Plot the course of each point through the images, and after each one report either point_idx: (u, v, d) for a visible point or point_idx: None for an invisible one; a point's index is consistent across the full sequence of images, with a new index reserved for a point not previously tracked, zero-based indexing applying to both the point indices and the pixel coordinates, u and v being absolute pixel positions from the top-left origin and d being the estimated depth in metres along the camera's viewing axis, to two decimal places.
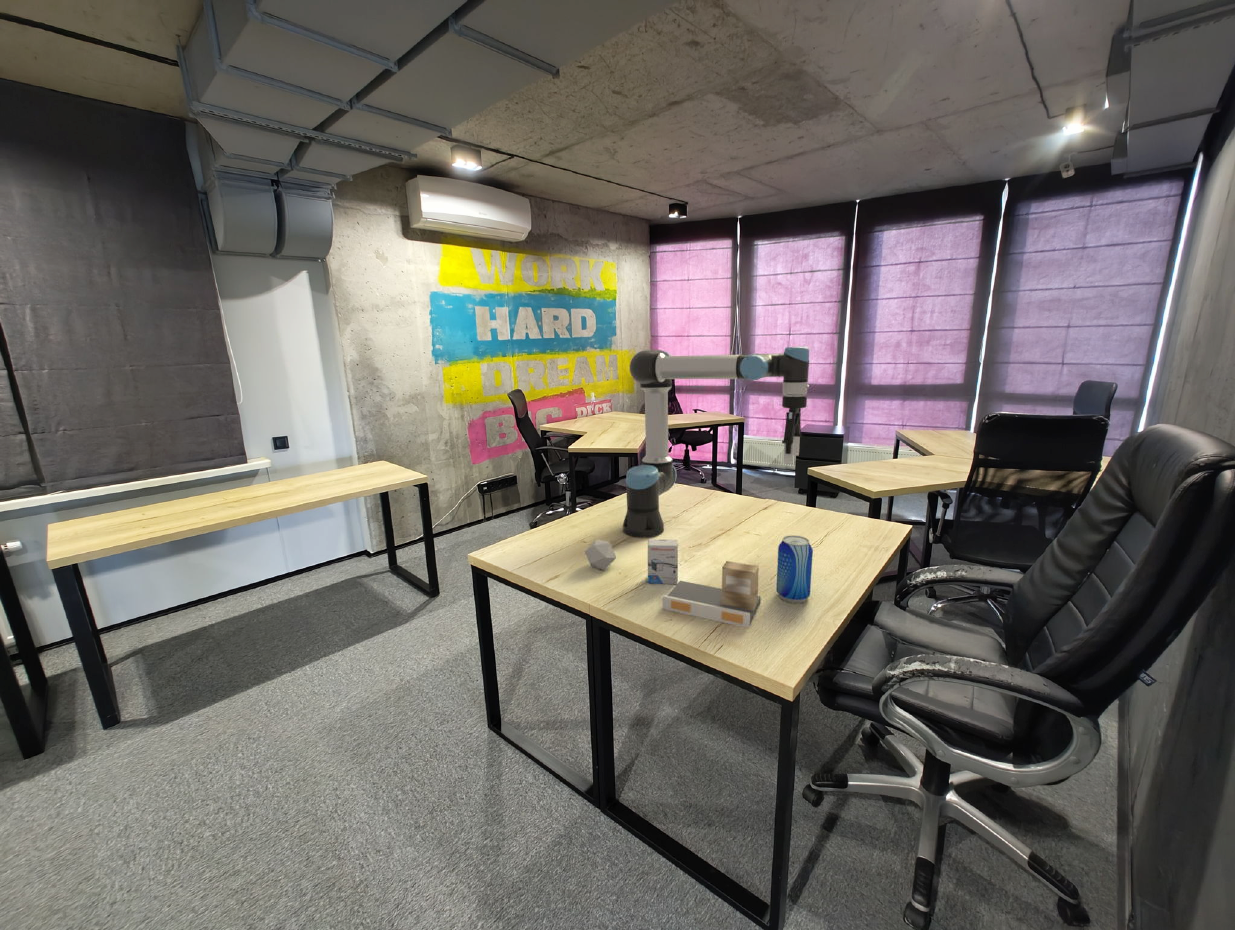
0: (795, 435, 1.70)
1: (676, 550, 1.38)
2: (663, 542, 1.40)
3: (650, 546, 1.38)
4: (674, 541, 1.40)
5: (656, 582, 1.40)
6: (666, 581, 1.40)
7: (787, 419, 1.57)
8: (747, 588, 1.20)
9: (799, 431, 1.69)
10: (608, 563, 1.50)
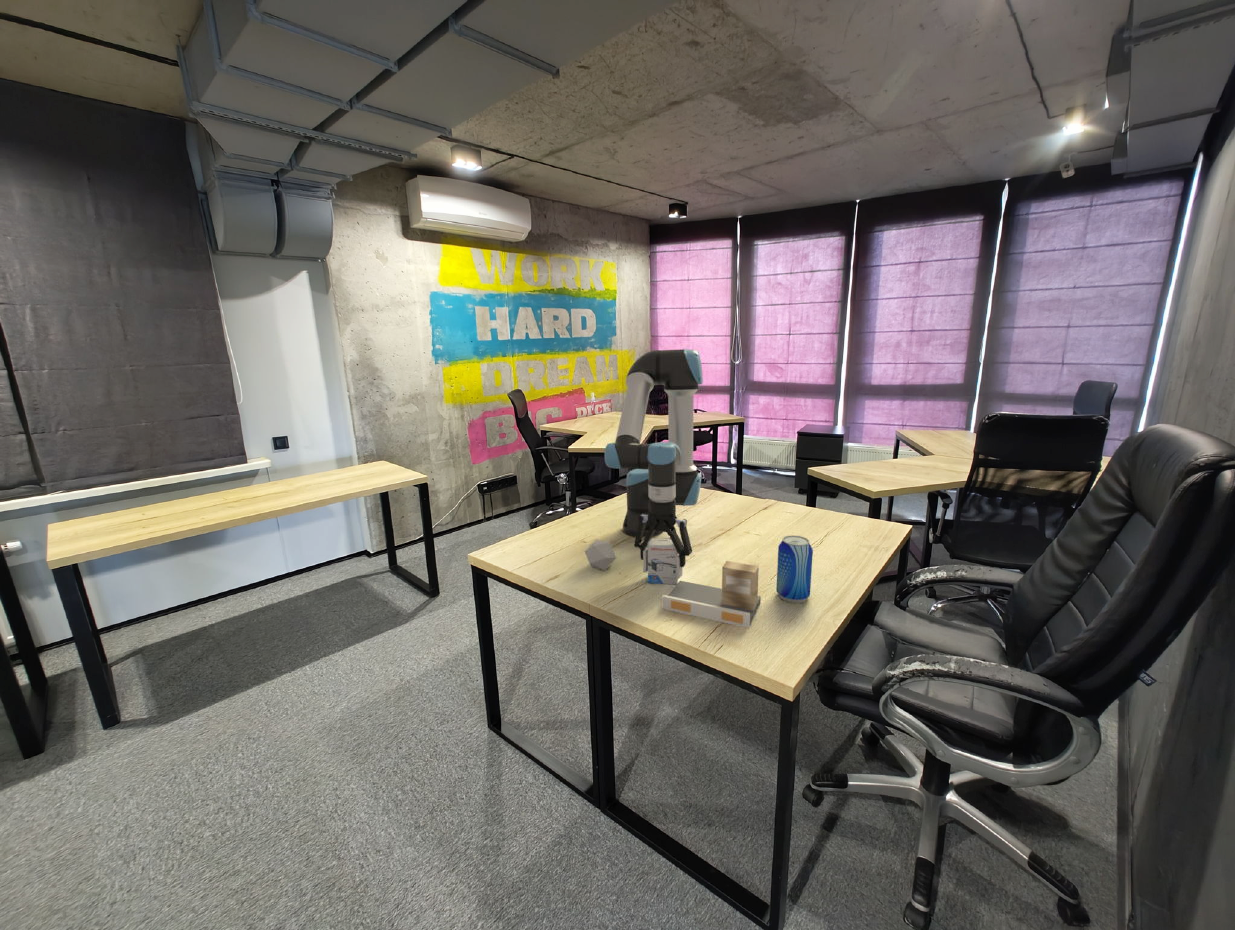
0: None
1: (676, 550, 1.38)
2: (663, 542, 1.40)
3: (650, 546, 1.38)
4: None
5: (656, 582, 1.40)
6: (666, 581, 1.40)
7: None
8: (747, 588, 1.20)
9: (678, 550, 1.37)
10: (608, 563, 1.50)
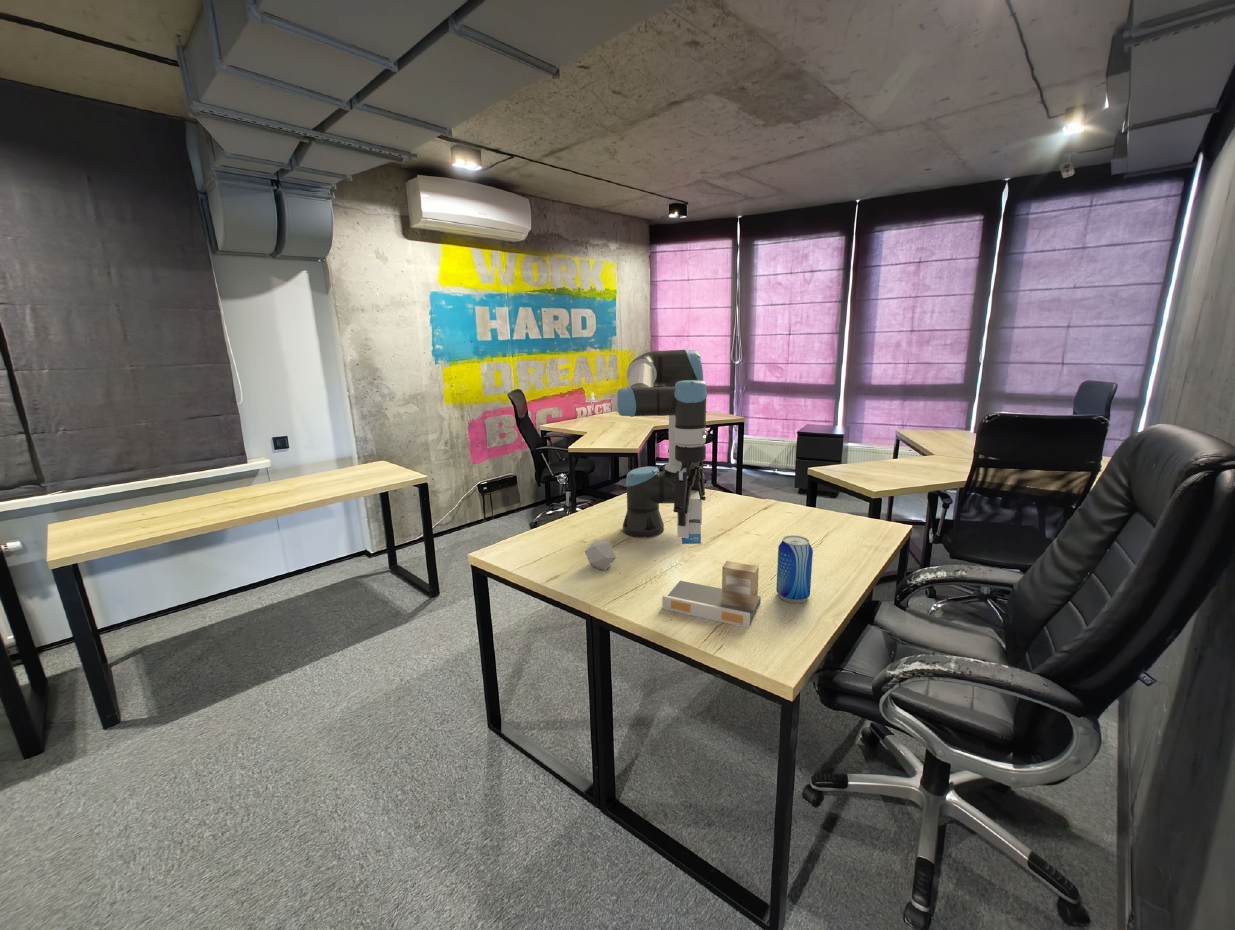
0: None
1: None
2: (690, 494, 1.24)
3: None
4: None
5: None
6: None
7: (677, 481, 1.18)
8: (747, 588, 1.20)
9: (701, 493, 1.28)
10: (608, 563, 1.50)
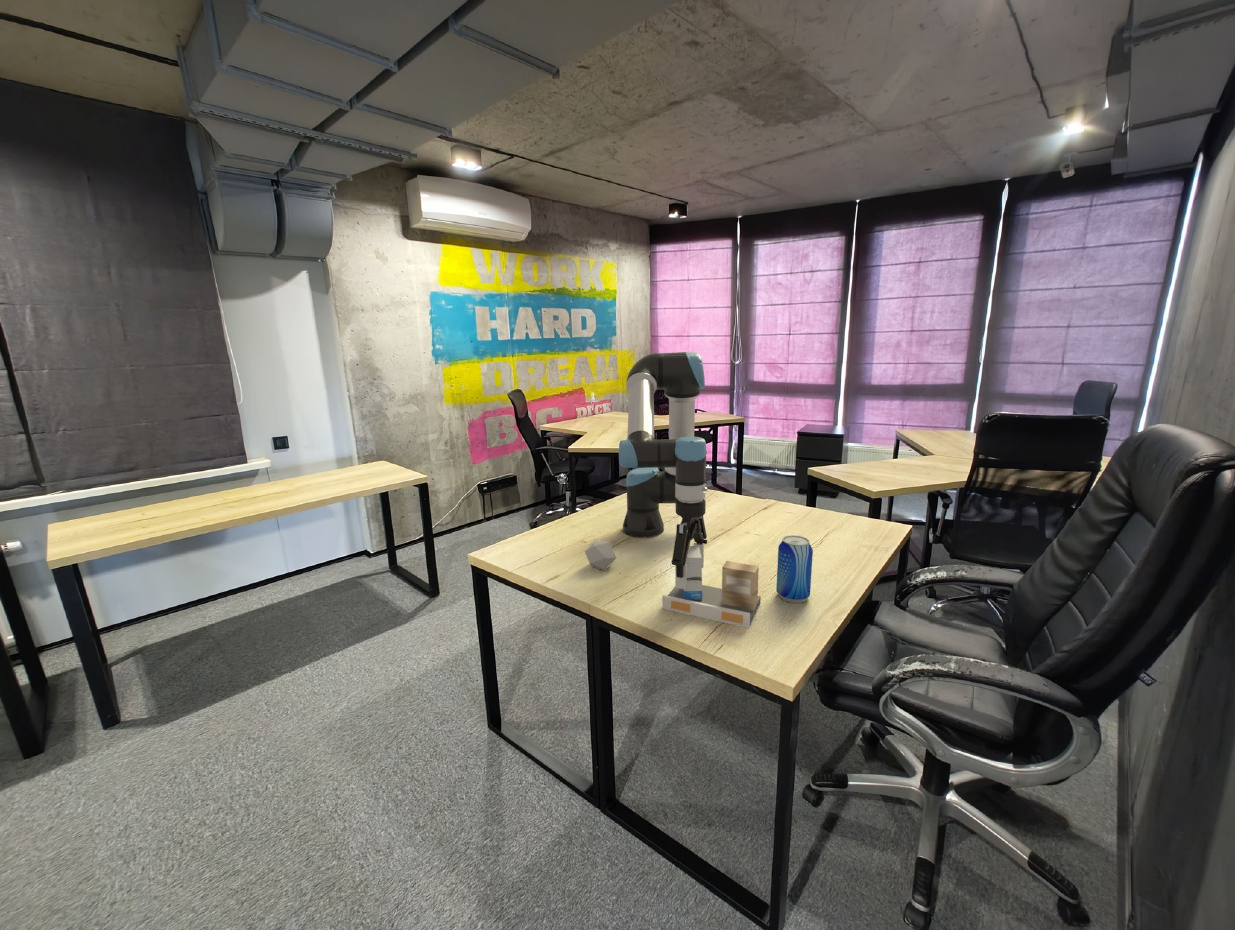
0: (698, 542, 1.34)
1: None
2: (691, 551, 1.28)
3: (701, 558, 1.24)
4: None
5: None
6: None
7: (677, 533, 1.20)
8: (747, 588, 1.20)
9: (702, 538, 1.32)
10: (608, 563, 1.50)
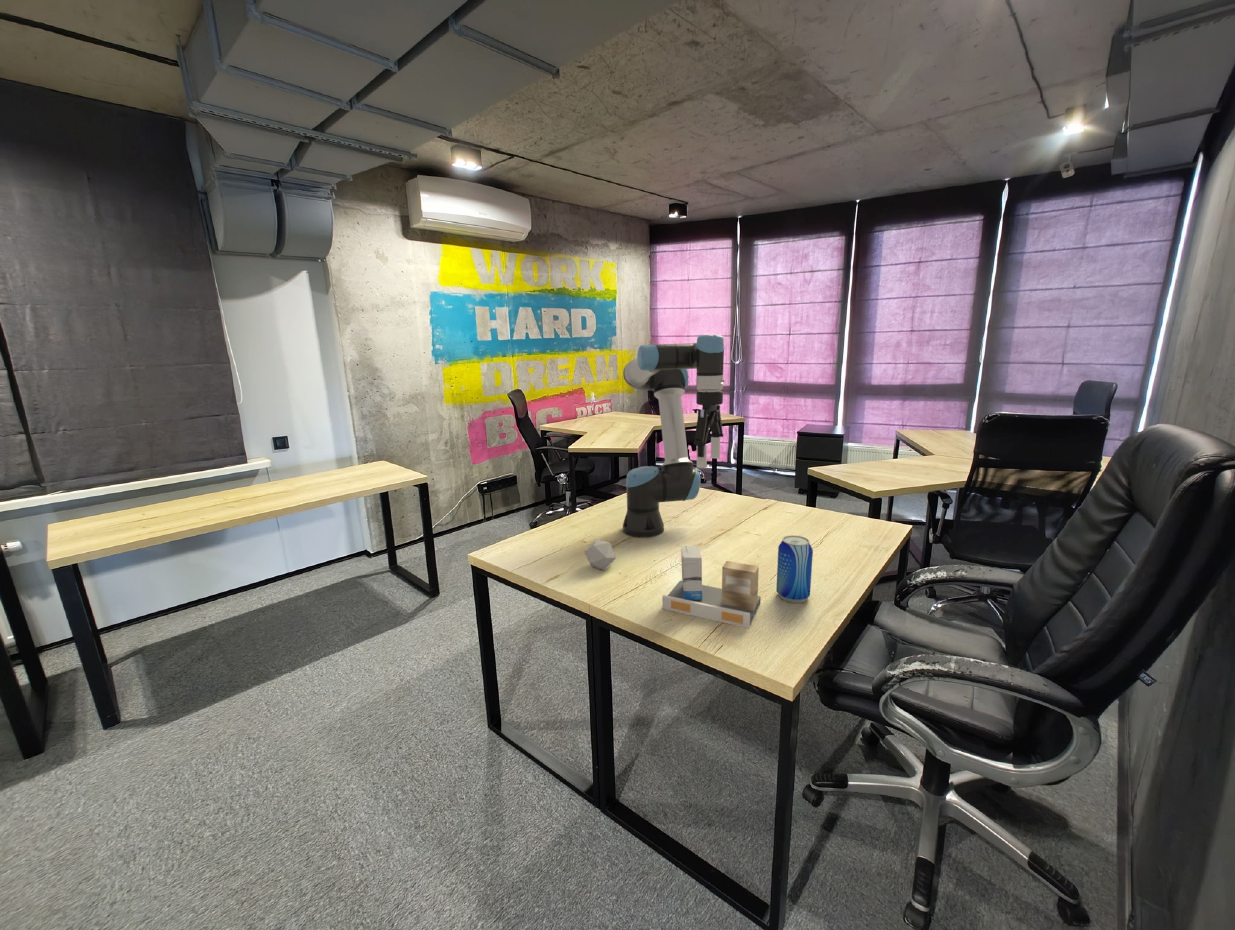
0: (715, 436, 1.51)
1: None
2: (691, 551, 1.28)
3: (701, 558, 1.24)
4: (686, 546, 1.31)
5: None
6: None
7: (699, 417, 1.37)
8: (747, 588, 1.20)
9: (719, 431, 1.50)
10: (608, 563, 1.50)
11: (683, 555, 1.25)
